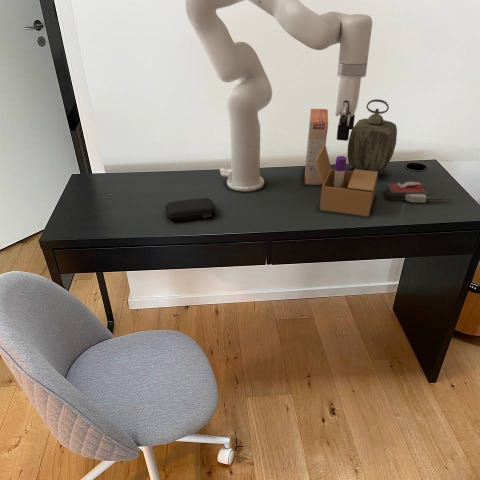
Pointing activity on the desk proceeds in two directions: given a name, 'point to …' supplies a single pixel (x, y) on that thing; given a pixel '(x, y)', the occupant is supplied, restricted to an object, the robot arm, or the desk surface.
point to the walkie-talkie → (410, 192)
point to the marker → (339, 172)
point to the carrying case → (190, 209)
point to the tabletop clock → (372, 142)
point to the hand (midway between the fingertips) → (345, 134)
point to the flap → (323, 164)
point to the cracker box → (315, 144)
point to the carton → (349, 192)
